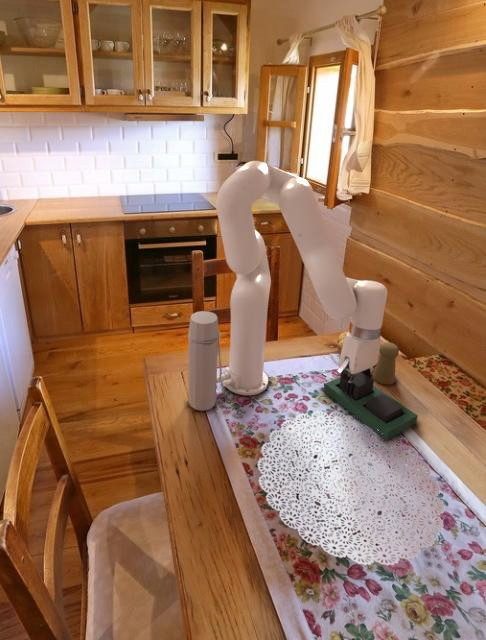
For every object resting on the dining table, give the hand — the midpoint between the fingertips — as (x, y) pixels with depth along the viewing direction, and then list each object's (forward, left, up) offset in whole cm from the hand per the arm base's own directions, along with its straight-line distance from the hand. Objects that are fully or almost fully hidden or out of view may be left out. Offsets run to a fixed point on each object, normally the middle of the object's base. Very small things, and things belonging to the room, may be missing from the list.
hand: (355, 388), depth 108 cm
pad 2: (0, -9, -3) cm, 9 cm away
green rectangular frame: (0, -4, -3) cm, 5 cm away
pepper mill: (+14, +2, -3) cm, 14 cm away
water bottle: (-36, +18, -3) cm, 40 cm away
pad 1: (0, 0, -1) cm, 1 cm away
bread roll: (+15, +15, -3) cm, 21 cm away
